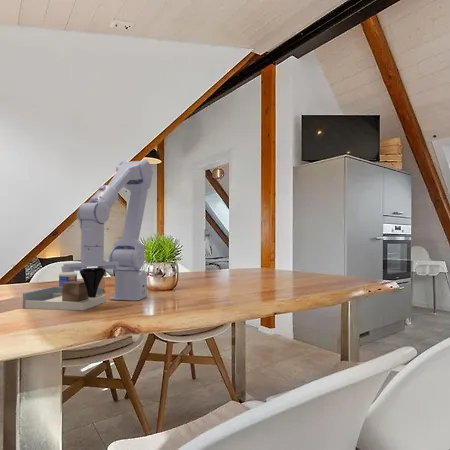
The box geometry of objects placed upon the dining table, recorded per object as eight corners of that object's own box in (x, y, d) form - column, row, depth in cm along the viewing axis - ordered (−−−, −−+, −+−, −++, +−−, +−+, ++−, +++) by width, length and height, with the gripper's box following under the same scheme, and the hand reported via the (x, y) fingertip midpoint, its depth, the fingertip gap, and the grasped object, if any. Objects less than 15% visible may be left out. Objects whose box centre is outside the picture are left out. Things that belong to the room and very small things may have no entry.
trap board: (106, 301, 110) (106, 288, 110) (83, 310, 96) (83, 295, 97) (52, 299, 112) (52, 286, 112) (22, 308, 99) (23, 293, 99)
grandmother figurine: (96, 290, 131) (97, 255, 131) (108, 290, 131) (108, 255, 131) (90, 294, 123) (91, 256, 123) (102, 294, 123) (103, 256, 124)
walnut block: (88, 298, 102) (88, 281, 103) (78, 301, 98) (78, 283, 98) (72, 298, 103) (73, 280, 103) (62, 301, 99) (62, 283, 99)
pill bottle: (70, 297, 117) (70, 266, 117) (54, 296, 118) (55, 266, 118) (80, 294, 122) (80, 265, 123) (65, 293, 123) (66, 264, 124)
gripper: (111, 245, 108) (111, 292, 107) (59, 246, 98) (58, 297, 98) (122, 246, 103) (122, 295, 102) (69, 247, 93) (68, 301, 93)
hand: (91, 296), depth 100 cm, fingers closed
